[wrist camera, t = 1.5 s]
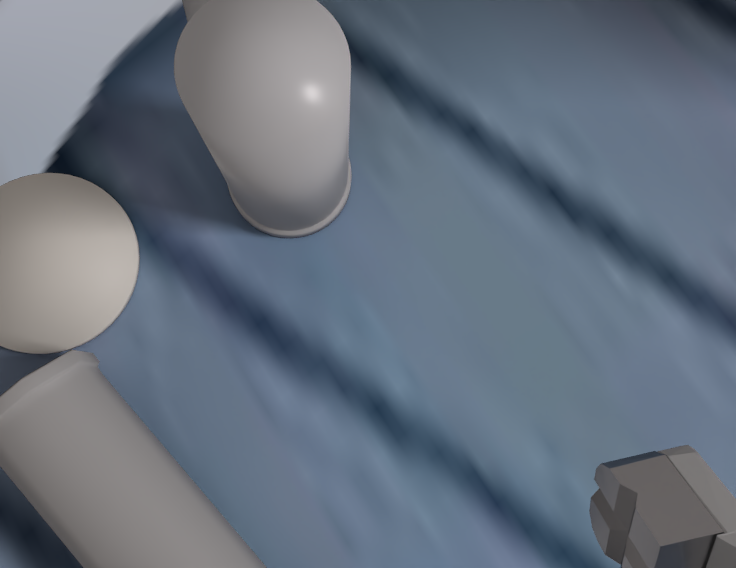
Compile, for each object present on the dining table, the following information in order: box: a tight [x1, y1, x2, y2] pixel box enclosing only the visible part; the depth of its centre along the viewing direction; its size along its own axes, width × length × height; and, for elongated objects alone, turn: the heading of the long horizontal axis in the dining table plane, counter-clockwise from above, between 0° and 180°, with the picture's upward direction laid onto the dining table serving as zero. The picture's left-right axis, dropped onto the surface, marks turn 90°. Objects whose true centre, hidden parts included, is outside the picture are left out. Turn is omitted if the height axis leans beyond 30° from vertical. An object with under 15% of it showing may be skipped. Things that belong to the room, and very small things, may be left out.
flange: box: [0, 173, 140, 354], centre depth 30 cm, size 8×8×1 cm
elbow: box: [174, 0, 351, 238], centre depth 26 cm, size 8×6×11 cm
